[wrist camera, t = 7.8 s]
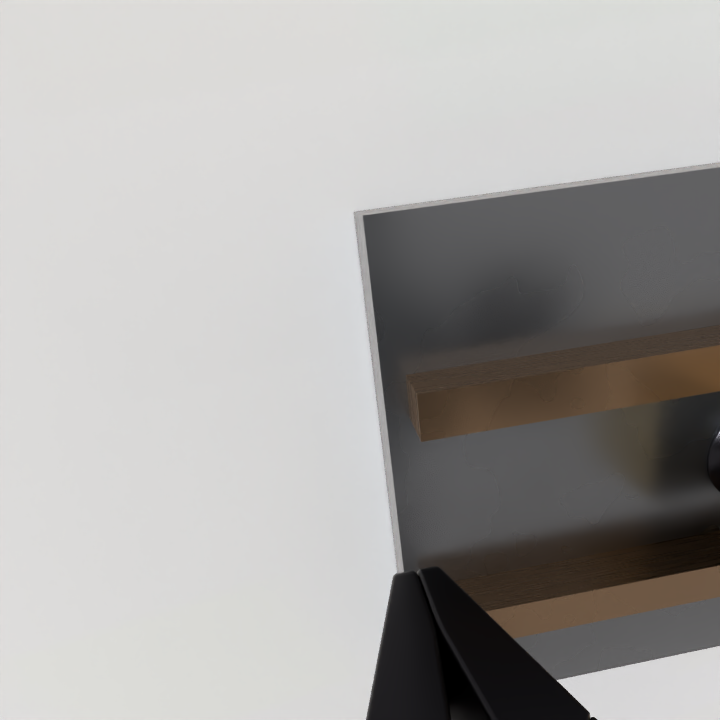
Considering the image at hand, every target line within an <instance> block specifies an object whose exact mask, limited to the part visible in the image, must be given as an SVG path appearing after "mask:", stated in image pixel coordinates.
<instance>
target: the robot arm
mask: <svg viewBox="0 0 720 720" xmlns="http://www.w3.org/2000/svg"><path fill="white" fill-rule="evenodd" d="M366 720H597V719H596V718H595V717H591V718H590V713H589V712H588V711H587V710H586V709H585V708H584V707H583V706H582V705H581V704H580V703H579V702H578V701H577V700H576V699H575V698H574V697H573V696H572V695H571V694H570V693H569V692H568V691H567V690H566V689H565V688H564V687H563V686H562V685H561V684H560V683H559V682H557V681H556V680H555V679H554V678H553V677H552V676H551V675H550V674H549V673H548V672H547V671H546V670H545V669H544V668H543V667H542V666H541V665H540V664H539V663H538V662H537V661H536V660H535V659H534V658H533V657H532V656H531V655H530V654H529V653H528V652H527V651H526V650H525V649H524V648H522V647H521V646H520V645H519V644H518V643H517V642H516V641H515V640H514V639H513V638H512V637H511V636H510V635H509V634H508V633H507V632H506V631H505V630H504V629H503V628H502V627H501V626H500V625H499V624H498V623H497V622H496V621H495V620H494V619H493V618H492V617H491V616H490V615H488V614H487V613H486V612H485V611H484V610H483V609H482V608H481V607H480V606H479V605H478V604H477V603H476V602H475V601H474V600H473V599H472V598H471V597H470V596H469V595H468V594H467V593H466V592H465V591H464V590H463V589H462V588H461V587H460V586H459V585H458V584H457V583H456V582H455V581H453V580H452V579H451V578H450V577H449V576H448V575H447V574H446V573H445V572H444V571H443V570H442V569H441V568H440V567H437V566H434V567H429V568H423V569H419V570H418V571H417V573H416V572H415V571H407V572H401V573H396V574H395V575H394V576H393V580H392V585H391V591H390V596H389V601H388V606H387V612H386V617H385V622H384V628H383V633H382V638H381V644H380V649H379V654H378V659H377V665H376V670H375V675H374V681H373V686H372V691H371V697H370V702H369V707H368V712H367V718H366Z"/></svg>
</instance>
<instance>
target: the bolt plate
mask: <svg viewBox="0 0 720 720" xmlns="http://www.w3.org/2000/svg"><path fill="white" fill-rule="evenodd" d="M354 217H355V225H356V233H357V242H358V250H359V258H360V266H361V275H362V283H363V291H364V299H365V308H366V316H367V324H368V332H369V341H370V349H371V357H372V365H373V374H374V382H375V390H376V398H377V407H378V415H379V423H380V431H381V440H382V448H383V456H384V464H385V472H386V481H387V489H388V497H389V505H390V514H391V522H392V530H393V538H394V547H395V555H396V563H397V571H398V573H401V572H407V571H415V572H416V573H417V571H418V570H419V569H423V568H429V567H434V566H437V567H440V568H441V569H442V570H443V571H444V572H445V573H446V574H447V575H448V576H449V577H450V578H451V579H452V580H453V581H455V582H456V583H457V584H458V585H459V586H460V587H461V588H462V589H463V590H464V591H465V592H466V593H467V594H468V595H469V596H470V597H471V598H472V599H473V600H474V601H475V602H476V603H477V604H478V605H479V606H480V607H481V608H482V609H483V610H484V611H485V612H486V613H487V614H488V615H490V616H491V617H492V618H493V619H494V620H495V621H496V622H497V623H498V624H499V625H500V626H501V627H502V628H503V629H504V630H505V631H506V632H507V633H508V634H509V635H510V636H511V637H512V638H513V639H514V640H515V641H516V642H517V643H518V644H519V645H520V646H521V647H522V648H524V649H525V650H526V651H527V652H528V653H529V654H530V655H531V656H532V657H533V658H534V659H535V660H536V661H537V662H538V663H539V664H540V665H541V666H542V667H543V668H544V669H545V670H546V671H547V672H548V673H549V674H550V675H551V676H552V677H553V678H554V679H555V680H559V679H563V678H568V677H573V676H578V675H583V674H587V673H592V672H597V671H602V670H606V669H611V668H616V667H621V666H625V665H630V664H635V663H640V662H645V661H649V660H654V659H659V658H664V657H668V656H673V655H678V654H683V653H687V652H692V651H697V650H702V649H707V648H711V647H716V646H720V163H713V164H705V165H698V166H691V167H683V168H676V169H668V170H661V171H653V172H646V173H639V174H631V175H624V176H616V177H609V178H601V179H594V180H587V181H579V182H572V183H564V184H557V185H549V186H542V187H535V188H527V189H520V190H512V191H505V192H498V193H490V194H483V195H475V196H468V197H460V198H453V199H446V200H438V201H431V202H423V203H416V204H408V205H401V206H394V207H386V208H379V209H371V210H364V211H357V212H354Z"/></svg>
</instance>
